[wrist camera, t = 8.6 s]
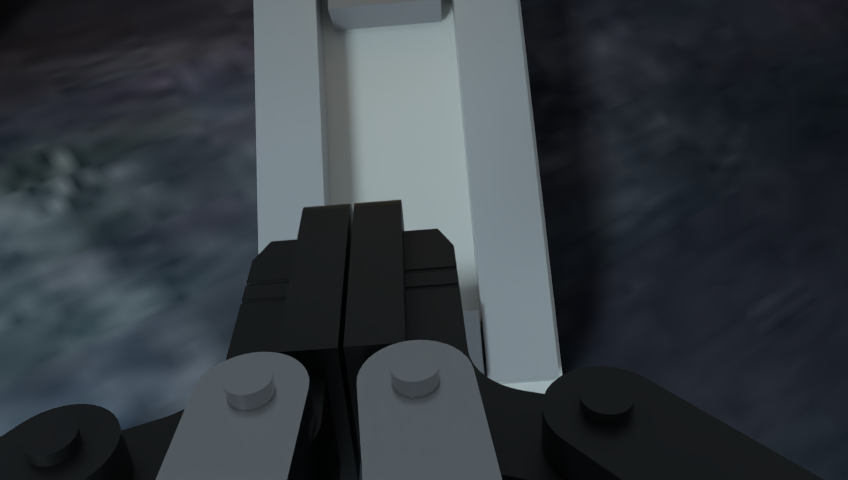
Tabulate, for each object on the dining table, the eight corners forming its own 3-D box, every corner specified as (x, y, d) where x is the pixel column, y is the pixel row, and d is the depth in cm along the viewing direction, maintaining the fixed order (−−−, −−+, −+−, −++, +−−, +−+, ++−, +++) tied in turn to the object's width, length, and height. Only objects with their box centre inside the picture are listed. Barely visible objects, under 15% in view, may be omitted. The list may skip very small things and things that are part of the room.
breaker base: (553, 402, 27) (573, 393, 22) (283, 422, 27) (248, 417, 22) (496, -113, 32) (504, -208, 27) (270, -93, 32) (239, -185, 27)
